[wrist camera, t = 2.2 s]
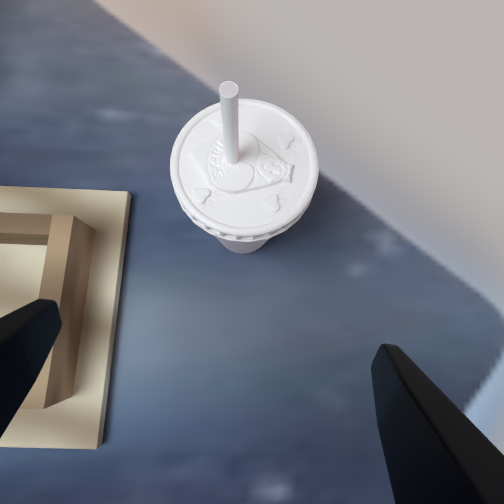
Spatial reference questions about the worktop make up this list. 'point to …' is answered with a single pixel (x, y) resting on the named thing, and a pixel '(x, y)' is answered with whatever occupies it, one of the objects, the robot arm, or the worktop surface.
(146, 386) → the worktop surface
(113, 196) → the bottle stand
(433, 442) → the robot arm
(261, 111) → the smoothie
